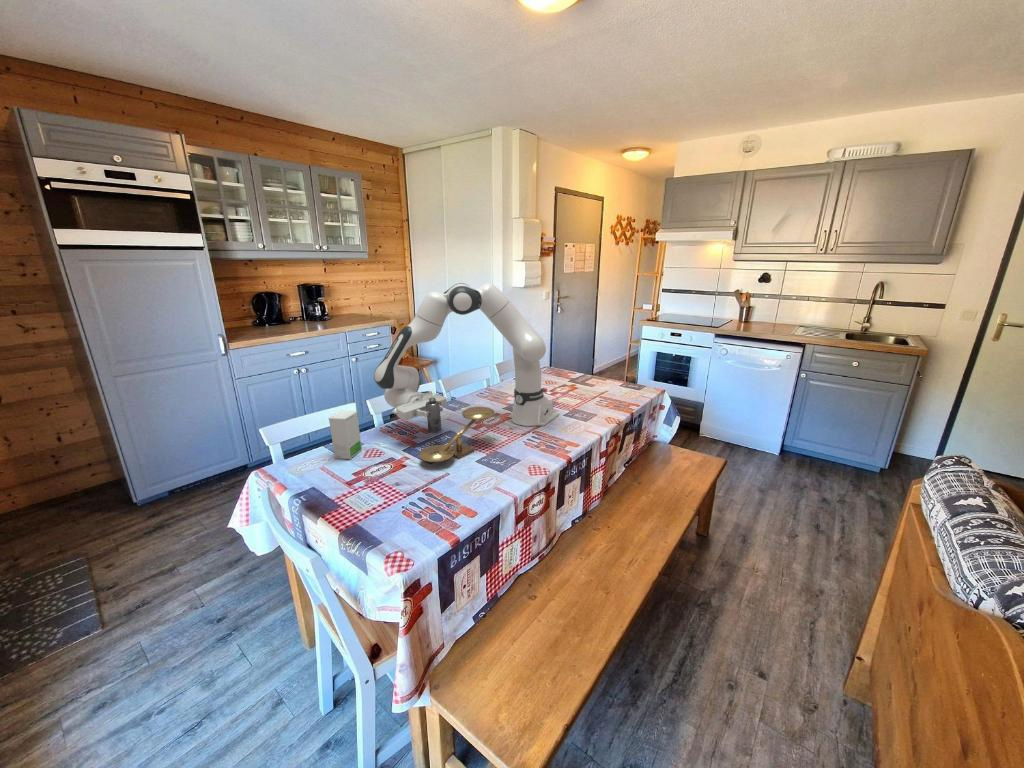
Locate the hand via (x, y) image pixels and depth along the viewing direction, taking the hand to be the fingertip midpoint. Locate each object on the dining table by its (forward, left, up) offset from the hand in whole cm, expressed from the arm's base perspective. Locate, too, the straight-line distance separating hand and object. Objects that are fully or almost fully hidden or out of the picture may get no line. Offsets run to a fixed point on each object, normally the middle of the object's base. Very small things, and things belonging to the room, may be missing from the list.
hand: (434, 411), depth 151 cm
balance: (-2, +11, -13) cm, 17 cm away
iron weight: (0, -1, -8) cm, 8 cm away
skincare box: (+26, -18, -14) cm, 35 cm away
